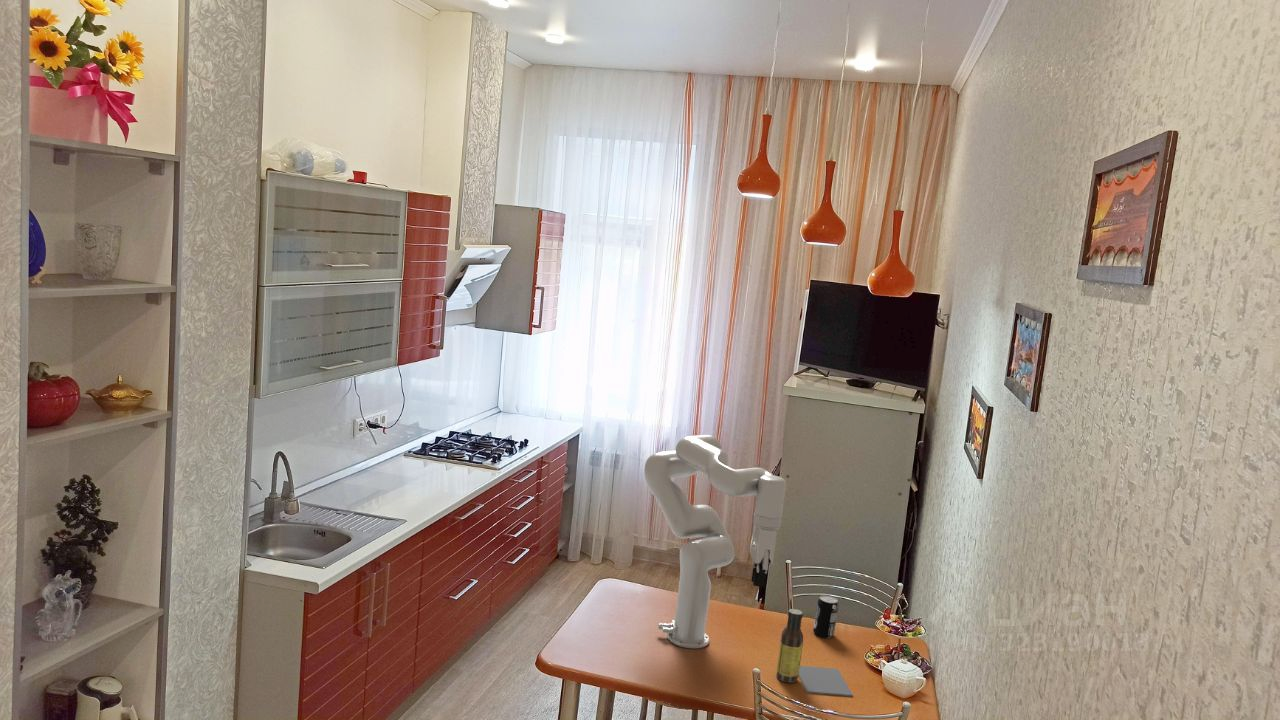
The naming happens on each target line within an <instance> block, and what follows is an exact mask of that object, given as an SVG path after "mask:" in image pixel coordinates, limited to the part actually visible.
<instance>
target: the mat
mask: <svg viewBox="0 0 1280 720" xmlns="http://www.w3.org/2000/svg"><path fill="white" fill-rule="evenodd" d="M798 679H799V680H800V682H801V684H802V686H803V689H804V691H805V693H806V694H813V695H817V694H818V695H826V694H827V695H828V696H829V695H830V696H840V697H853V696H854V694H853V692H852V691H851V689H850V687H849V685H848V683H847V682H846V680H845V679H844V677H843V674H842V673H841V671H840V670H839V668H833V667H822V666H821V667H820V666H819V667H818V666H808V665H800V669H799V675H798Z"/></svg>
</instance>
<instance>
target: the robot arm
mask: <svg viewBox="0 0 1280 720" xmlns="http://www.w3.org/2000/svg"><path fill="white" fill-rule="evenodd" d="M675 446H676V447H675V450H664V451H659V452H655V453H653V454H651V455H649V457H648V458H647V459H646V461H645V464H644V479H645V483H646V485H647V487H648V489H649V491H650V492H651V494H652V496H653V497H654V498H655V500H656V502H658V505H659V507H660V510H661V511H662V513H663V515H664V518H665V519H666V522H667V524H668V526H669V527H670V530H671V532H672V533H673V535H674V536H675V537H677V539H680V540H681V539H683V540H684V539H685V540H686V539H689V540H687V541H685V542H684V543H683V544H682V545H681V547H680V550H679V565H680V566H679V567H680V571H679V583H678V591H677V598H676V599H677V600H676V604H675V605H676V607H675V613H674V614H675V615H674V619H672V621H671V622H668V623H665V622H658V623H657V629H658V630H661V631H662V633H664V634H665V633H667V634H666V637H667V639H668V640H669V641H670V643H671V644H674V645H676V646H679V647H680V648H681V647H682V648H686V649H701V648H704V647H706V646H708V645H709V642H710V637H709V635H708V634H707V633H706V627H707V626H706V625H707V618H708V611H709V606H710V605H709V604H710V597H711V589H712V588H711V587H712V583H711V579H710V576H709V574H708V571H710V570H713V569H716V568H722V567H725V566H728V565H729V564H731V563H732V561H733V560H734V558H735V548H734V544H733V541H732V539H731V537H730V535H729V533H728V532H727V529H726V528H725V526H724V523H723V522H722V519H721V518H720V516H719V514H718V512H717V511H716V510H715V509H714V508H713V507H711V506H710V505H707V504H696V505H693V504H691V502H690V501H689V500H688V497H687V496H686V494H685V491H684V490H682V488H681V487H680V486H679V485H678V484H676V483H675V482H674V481H673V480H672V479H678V478H679V479H680V478H687V477H691V476H694V475H696V474H698V473H700V472H701V473H703V474H705V475H706V476H707V478H708V481H709V483H710V485H712V487H713V488H715V489H716V490H719V492H722V493H723V494H725V495H727V496H730V497H734V498H739V497H740V498H741V497H747V496H748V497H749V496H756V498H755V503H754V504H755V505H754V513H753V514H754V515H753V517H752V518H753V520H752V524H753V530H752V535H751V540H750V545H749V551H748V552H749V555H750V556H751V558H752V561H753V567H752V573H751V582H752V583H753V586H754V587H762V588H763V587H765V586H766V581H767V574H768V569H769V565H770V566H771V565H772V564H773V562H774V557H775V556H774V555H775V549H776V541H777V540H776V539H777V530H779V529H780V528H781V524H782V519H783V518H782V516H783V511H784V503H785V498H786V497H785V495H786V490H787V481H786V480H785V478H783V477H781V476H778V475H775V474H772V473H770V472H769V471H768V470H766V469H765V468H763V467H750V468H749V467H747V468H740V469H739V468H738V469H734V468H731V467H729V466H728V464H729V457H728V455H727V453H726V451H725V450H724V449H723V448H722V445H721V442H720V440H718V438H717V437H715V436H713V435H712V434H702V435H701V434H700V435H699V434H698V435H689V436H685V437H683V438H681V439H679V441H678V442H677V444H676V445H675Z"/></svg>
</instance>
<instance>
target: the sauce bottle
mask: <svg viewBox="0 0 1280 720" xmlns="http://www.w3.org/2000/svg"><path fill="white" fill-rule="evenodd" d="M803 616H804V612H803V611H802V610H799V609H796V608H790V609H788V611H787V617H788V618H787V623H786V626H785V627H784V628H783V630H782V632H781V638H780V641H779V642H780V643H779V649H778V658H777V666H776V673H775V674H776V678H777V679H778V680H779V681H781V682H783V683H795V682H797V681H798V679H799V676H798V675H799V669H800V666H801V661H802V654H803V647H804V633H803V632H802V630H801V628H802V625H801V624H802V619H803Z"/></svg>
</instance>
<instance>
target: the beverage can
mask: <svg viewBox="0 0 1280 720" xmlns="http://www.w3.org/2000/svg"><path fill="white" fill-rule="evenodd" d="M838 601H839V600H838V598H836V597H835V596H832V595H828V594H827V595H825V594H823V595H820V596H819V599H818V600H817V602H816V603H817V604H816V610H815V616H814V624H813V633H814V634H815V636H817V637H819V638H823V639H830V638H832V637H834V636H835V631H836V624H837V619H838V611H839V602H838Z"/></svg>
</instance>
